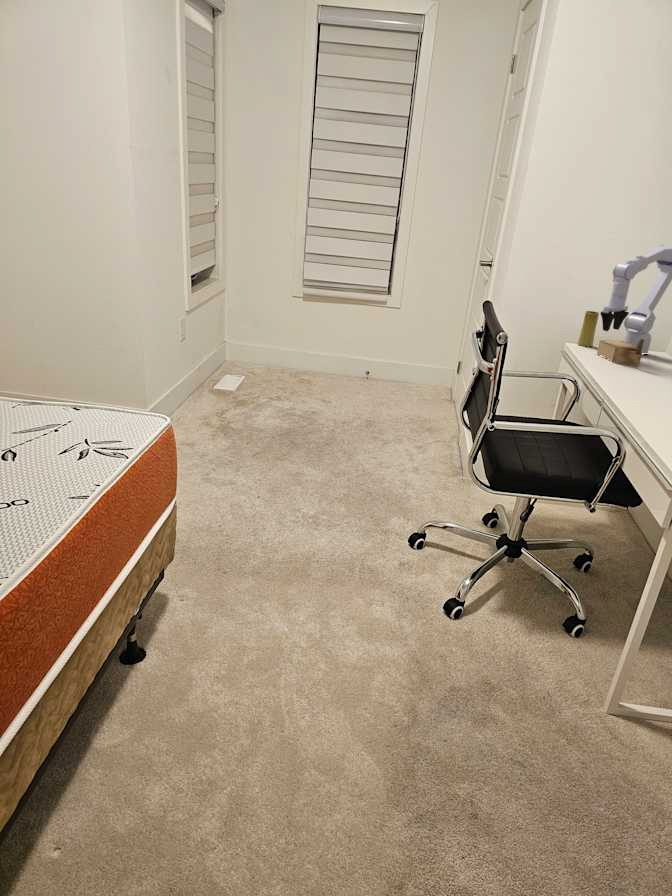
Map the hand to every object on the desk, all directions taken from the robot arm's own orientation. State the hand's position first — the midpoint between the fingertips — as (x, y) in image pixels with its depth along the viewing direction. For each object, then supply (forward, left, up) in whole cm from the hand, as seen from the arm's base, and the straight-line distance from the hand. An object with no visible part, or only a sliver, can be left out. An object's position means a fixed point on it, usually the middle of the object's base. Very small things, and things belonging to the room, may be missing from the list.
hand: (610, 329), depth 242 cm
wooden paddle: (+1, +15, -10) cm, 18 cm away
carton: (-2, +5, -10) cm, 12 cm away
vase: (-1, -17, -11) cm, 20 cm away
